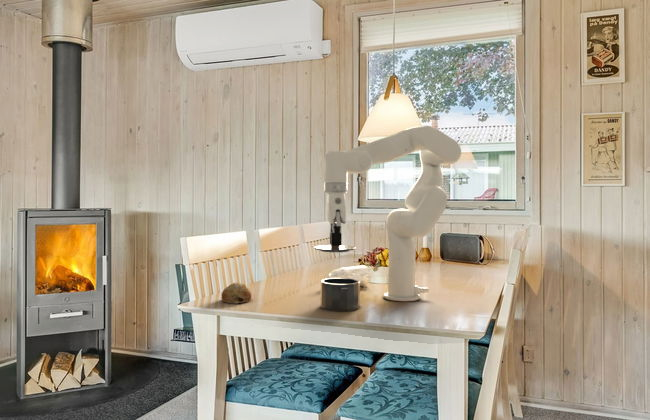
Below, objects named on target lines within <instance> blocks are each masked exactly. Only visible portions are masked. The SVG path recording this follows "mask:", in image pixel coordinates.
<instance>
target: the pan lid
mask: <svg viewBox="0 0 650 420" xmlns="http://www.w3.org/2000/svg"><path fill="white" fill-rule="evenodd" d="M331 237H332V233H331ZM356 249H357V248H356V246H352V245H342V244H341V246H332V245H331V244H327V245H316V246H314V250H317V251H320V252H323V253H347V252H348V253H349V252H351V251H355V250H356Z"/></svg>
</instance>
